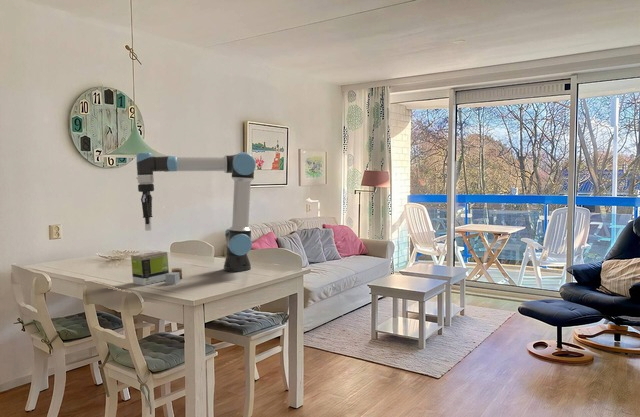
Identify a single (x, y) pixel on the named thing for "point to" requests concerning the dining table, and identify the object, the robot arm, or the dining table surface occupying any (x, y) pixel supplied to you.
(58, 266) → the dining table surface
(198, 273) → the dining table surface
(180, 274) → the walnut cube
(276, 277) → the dining table surface
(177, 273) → the slate-grey cube
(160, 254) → the tea box
